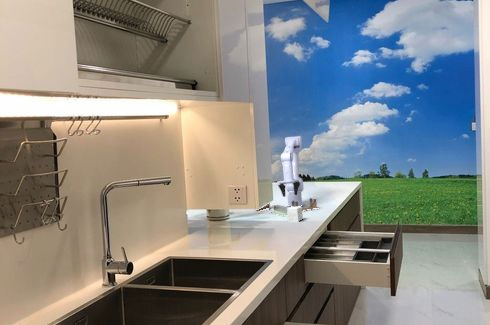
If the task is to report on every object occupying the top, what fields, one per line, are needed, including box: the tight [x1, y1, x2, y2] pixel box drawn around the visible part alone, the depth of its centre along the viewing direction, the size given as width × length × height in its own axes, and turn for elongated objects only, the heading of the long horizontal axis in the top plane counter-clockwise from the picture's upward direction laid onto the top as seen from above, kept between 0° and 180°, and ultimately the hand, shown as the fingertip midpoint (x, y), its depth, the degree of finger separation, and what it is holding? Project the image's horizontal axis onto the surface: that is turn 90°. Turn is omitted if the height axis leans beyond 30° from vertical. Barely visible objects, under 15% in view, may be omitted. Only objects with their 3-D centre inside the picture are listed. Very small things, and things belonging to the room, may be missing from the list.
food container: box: [255, 202, 271, 211], centre depth 310 cm, size 12×6×10 cm, turn 130°
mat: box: [270, 210, 288, 217], centre depth 294 cm, size 20×9×1 cm, turn 22°
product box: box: [287, 207, 304, 223], centre depth 266 cm, size 6×6×7 cm
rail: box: [272, 204, 290, 214], centre depth 295 cm, size 16×3×3 cm, turn 22°
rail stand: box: [292, 197, 320, 211], centre depth 298 cm, size 8×15×6 cm, turn 112°
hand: (290, 195), depth 297 cm, fingers open, 7 cm apart
